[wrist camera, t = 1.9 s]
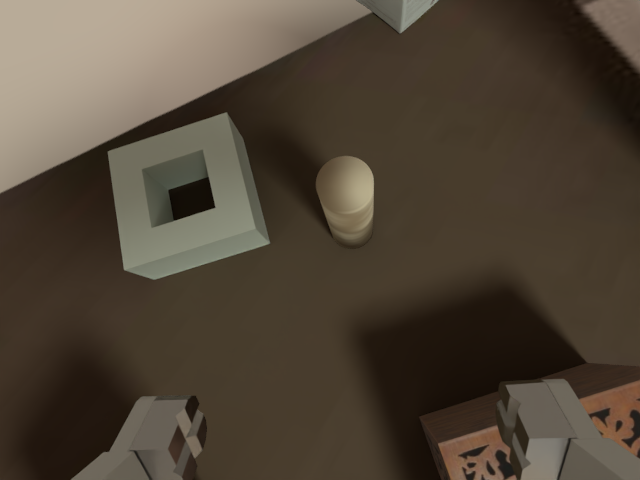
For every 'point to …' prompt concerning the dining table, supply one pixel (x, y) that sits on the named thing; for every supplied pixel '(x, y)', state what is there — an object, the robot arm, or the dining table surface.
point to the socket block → (176, 170)
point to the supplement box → (398, 11)
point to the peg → (347, 200)
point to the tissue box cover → (493, 455)
